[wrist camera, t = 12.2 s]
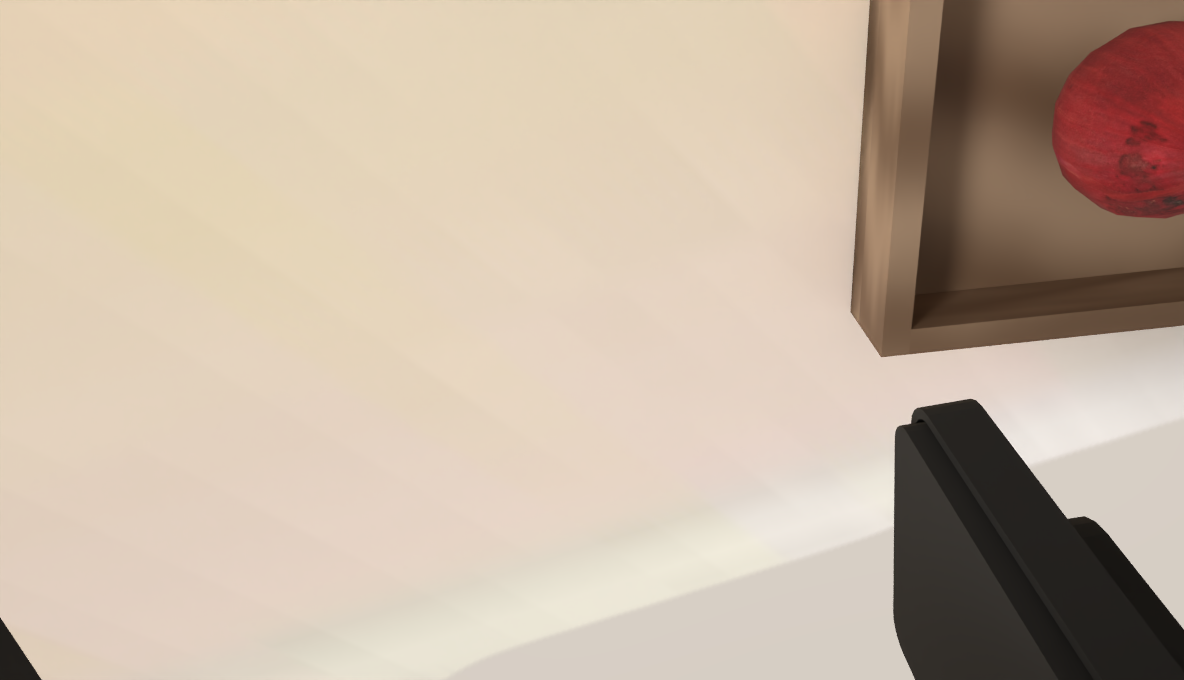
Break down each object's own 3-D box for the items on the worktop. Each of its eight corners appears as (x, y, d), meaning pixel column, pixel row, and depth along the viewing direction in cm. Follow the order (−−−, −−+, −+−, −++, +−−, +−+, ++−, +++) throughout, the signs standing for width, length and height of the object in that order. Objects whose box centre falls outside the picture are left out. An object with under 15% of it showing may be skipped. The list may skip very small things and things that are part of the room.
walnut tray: (879, -152, 29) (922, -147, 26) (1388, -198, 30) (1489, -198, 27) (850, 311, 37) (881, 357, 34) (1254, 269, 38) (1320, 311, 35)
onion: (1089, 202, 35) (1236, 301, 28) (974, 119, 33) (1100, 205, 26) (1215, 61, 32) (1409, 132, 25) (1100, -35, 31) (1274, 13, 24)
